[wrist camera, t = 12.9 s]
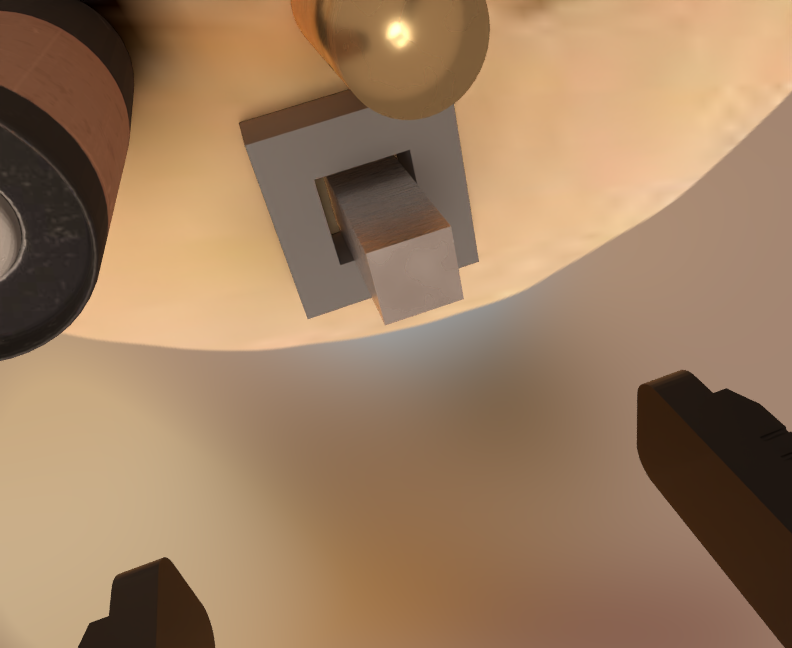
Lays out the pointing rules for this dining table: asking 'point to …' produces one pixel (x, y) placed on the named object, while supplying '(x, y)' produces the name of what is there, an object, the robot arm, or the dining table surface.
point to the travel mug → (56, 161)
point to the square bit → (395, 238)
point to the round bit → (399, 49)
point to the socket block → (337, 151)
